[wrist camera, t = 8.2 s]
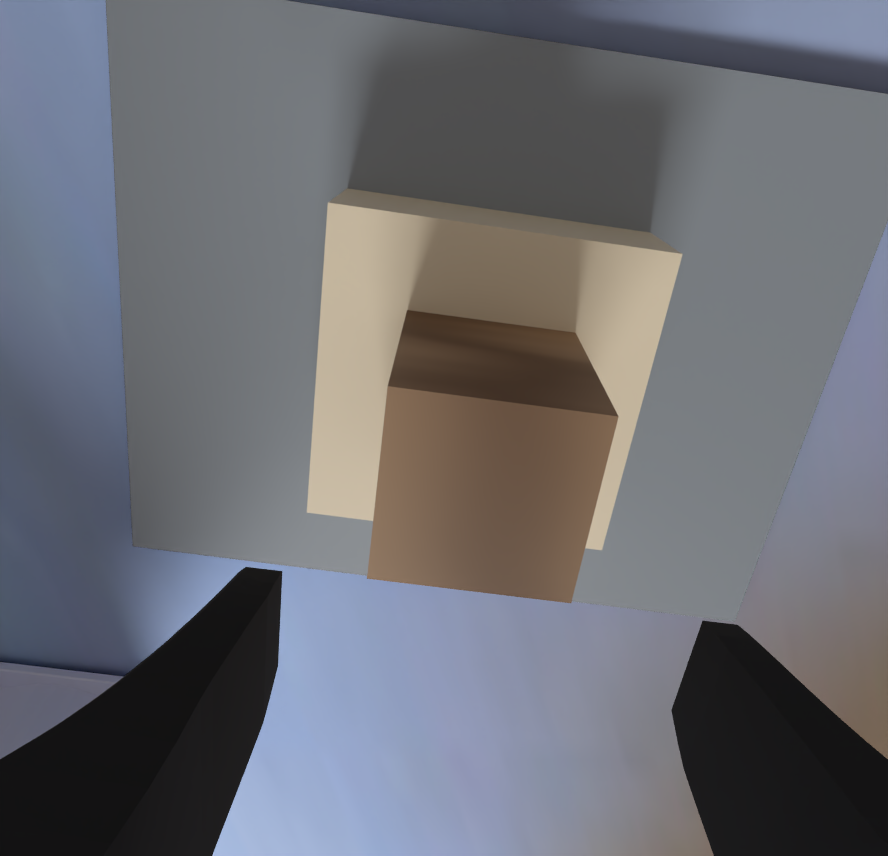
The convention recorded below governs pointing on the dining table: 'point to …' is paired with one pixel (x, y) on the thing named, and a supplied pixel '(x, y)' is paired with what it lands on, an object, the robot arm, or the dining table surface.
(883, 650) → the dining table surface
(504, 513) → the walnut block
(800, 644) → the dining table surface
